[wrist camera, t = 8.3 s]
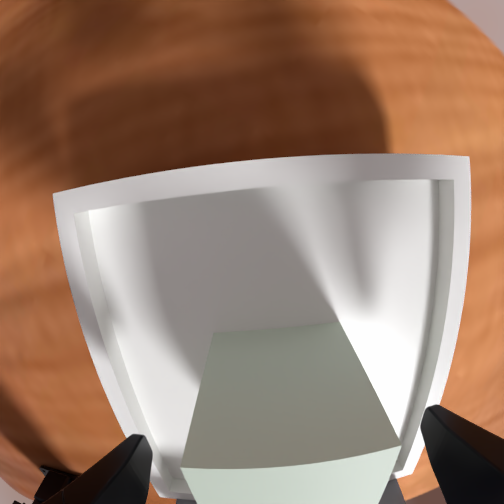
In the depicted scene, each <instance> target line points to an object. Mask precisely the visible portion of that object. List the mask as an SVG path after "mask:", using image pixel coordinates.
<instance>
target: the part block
mask: <svg viewBox="0 0 504 504" xmlns="http://www.w3.org/2000/svg"><path fill="white" fill-rule="evenodd" d="M401 446H402V445H401V442H400V440H399V438H398V436H397V434H396V432H395V430H394V428H393V426H392V424H391V421H390V419H389V417H388V415H387V413H386V411H385V409H384V407H383V405H382V403H381V401H380V399H379V397H378V395H377V393H376V391H375V389H374V387H373V385H372V383H371V381H370V379H369V377H368V375H367V373H366V371H365V369H364V367H363V365H362V363H361V362H360V360H359V358H358V356H357V354H356V352H355V350H354V348H353V346H352V344H351V342H350V340H349V339H348V337H347V335H346V333H345V331H344V329H343V327H342V325H341V324H340V322H333V323H324V324H315V325H306V326H297V327H286V328H275V329H263V330H250V331H235V332H218V333H213V337H212V341H211V344H210V348H209V352H208V356H207V360H206V364H205V368H204V372H203V376H202V380H201V384H200V388H199V392H198V396H197V400H196V404H195V408H194V412H193V416H192V420H191V424H190V428H189V433H188V437H187V441H186V445H185V449H184V453H183V457H182V462H181V466H180V468H181V470H182V473H183V475H184V477H185V479H186V481H187V484H188V486H189V488H190V490H191V492H192V494H193V496H194V498H195V500H196V502H197V504H378V503H379V501H380V499H381V497H382V494H383V492H384V490H385V488H386V485H387V483H388V480H389V478H390V476H391V473H392V471H393V468H394V465H395V463H396V460H397V457H398V455H399V452H400V449H401Z"/></svg>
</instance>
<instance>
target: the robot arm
mask: <svg viewBox="0 0 504 504" xmlns="http://www.w3.org/2000/svg"><path fill="white" fill-rule="evenodd" d="M420 430H421V433H422V436H423V440H424V443H425V446H426V450H427V453H428V457H429V460H430V463H431V466H432V469H433V471H434V473H435V476H436V478H437V481H438V483H439V485H440V488H441V490H442V493H443V495H444V498H445V500H446V503H447V504H504V439H502V438H501V437H499V436H497V435H495V434H493V433H491V432H489V431H487V430H485V429H483V428H481V427H479V426H477V425H475V424H474V423H472V422H470V421H468V420H466V419H464V418H462V417H460V416H459V415H457V414H455V413H453V412H451V411H449V410H447V409H446V408H444V407H442V406H440V405H438V404H435V405H432V406H429V407H427V408H426V409H425V411H424V414H423V417H422V420H421V424H420ZM152 459H153V452H152V449H151V447H150V444H149V442H148V440H147V438H146V436H145V435H143V434H131V435H130V436H129V437H128V438H126V439H125V440H124V441H123V442H122V443H120V444H119V445H118V446H117V447H116V448H114V449H113V450H112V451H111V452H109V453H108V454H107V455H106V456H104V457H103V458H102V459H101V460H99V461H98V462H97V463H96V464H94V465H93V466H92V467H91V468H89V469H88V470H87V471H85V472H84V473H83V474H82V475H80V476H79V477H77V476H74V475H70V474H67V473H64V472H60V471H57V470H54V469H51V468H48V467H45V466H43V465H41V466H40V470H41V471H42V473H43V474H44V475H45V478H44V480H43V481H42V483H41V485H40V487H39V488H38V490H37V492H36V494H35V495H34V498H35V500H34V501H33V503H32V504H145V503H146V499H147V495H148V490H149V482H150V474H151V466H152ZM13 504H21V503H19V502H17V501H14V502H13ZM23 504H25V503H23Z"/></svg>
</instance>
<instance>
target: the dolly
mask: <svg viewBox="0 0 504 504" xmlns="http://www.w3.org/2000/svg"><path fill="white" fill-rule="evenodd" d="M53 201H54V208H55V215H56V221H57V227H58V233H59V239H60V244H61V249H62V254H63V259H64V263H65V268H66V272H67V276H68V281H69V285H70V289H71V292H72V296H73V300H74V304H75V307H76V311H77V314H78V317H79V321H80V324H81V327H82V330H83V334H84V337H85V340H86V343H87V346H88V348H89V351H90V354H91V357H92V360H93V362H94V365H95V368H96V370H97V373H98V376H99V378H100V381H101V383H102V386H103V388H104V390H105V393H106V395H107V398H108V400H109V402H110V404H111V407H112V409H113V411H114V413H115V416H116V418H117V420H118V422H119V424H120V426H121V428H122V430H123V432H124V434H125V436H126V438H128V437H129V436H130V435H131V434H143V435H145V436H146V438H147V440H148V442H149V444H150V447H151V449H152V452H153V459H152V466H151V474H150V482H151V483H152V485H153V487H154V488H155V490H156V491H157V493H158V495H159V496H160V497H165V498H174V499H177V501H176V504H197V502H196V500H195V498H194V496H193V494H192V492H191V490H190V488H189V486H188V484H187V481H186V479H185V477H184V475H183V473H182V470H181V468H180V466H181V462H182V457H183V453H184V449H185V445H186V441H187V437H188V433H189V428H190V424H191V420H192V416H193V412H194V408H195V404H196V400H197V396H198V392H199V388H200V384H201V380H202V376H203V372H204V368H205V364H206V360H207V356H208V352H209V348H210V344H211V341H212V337H213V333H218V332H235V331H250V330H263V329H275V328H286V327H297V326H306V325H315V324H324V323H333V322H340V324H341V325H342V327H343V329H344V331H345V333H346V335H347V337H348V339H349V340H350V342H351V344H352V346H353V348H354V350H355V352H356V354H357V356H358V358H359V360H360V362H361V363H362V365H363V367H364V369H365V371H366V373H367V375H368V377H369V379H370V381H371V383H372V385H373V387H374V389H375V391H376V393H377V395H378V397H379V399H380V401H381V403H382V405H383V407H384V409H385V411H386V413H387V415H388V417H389V419H390V421H391V424H392V426H393V428H394V430H395V432H396V434H397V436H398V438H399V440H400V442H401V445H402V446H401V449H400V452H399V455H398V457H397V460H396V463H395V465H394V468H393V471H392V473H391V476H390V478H389V480H388V483H387V485H386V488H385V490H384V492H383V494H382V497H381V499H380V501H379V503H378V504H406V503H405V500H404V497H403V495H402V492H401V490H400V487H399V484H398V482H397V479H396V478H400V477H403V476H406V475H410V474H412V473H413V471H414V469H415V466H416V464H417V462H418V460H419V457H420V455H421V453H422V450H423V448H424V445H425V443H424V440H423V436H422V433H421V430H420V424H421V420H422V417H423V414H424V411H425V409H426V408H427V407H429V406H432V405H435V404H438V405H439V404H440V401H441V398H442V395H443V391H444V388H445V385H446V381H447V378H448V374H449V370H450V366H451V362H452V358H453V354H454V350H455V345H456V341H457V336H458V331H459V326H460V320H461V315H462V309H463V302H464V296H465V288H466V280H467V271H468V261H469V248H470V229H471V178H470V160H469V156H453V155H432V154H337V155H314V156H297V157H282V158H270V159H258V160H248V161H238V162H229V163H220V164H212V165H204V166H196V167H189V168H182V169H175V170H168V171H162V172H156V173H150V174H144V175H138V176H133V177H127V178H122V179H117V180H112V181H107V182H102V183H97V184H92V185H88V186H83V187H79V188H74V189H70V190H66V191H61V192H57V193H53Z"/></svg>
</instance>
